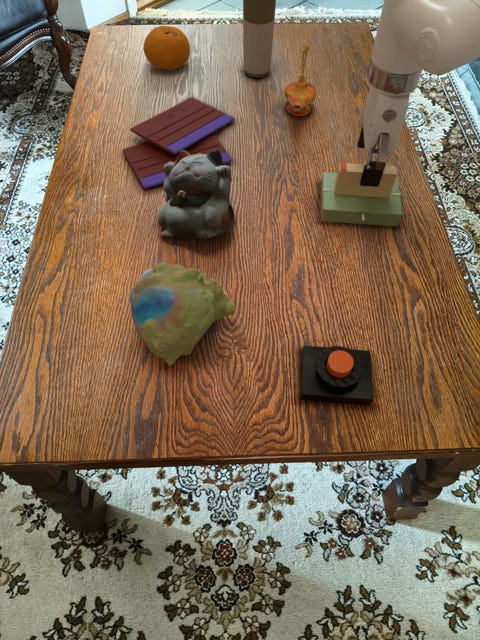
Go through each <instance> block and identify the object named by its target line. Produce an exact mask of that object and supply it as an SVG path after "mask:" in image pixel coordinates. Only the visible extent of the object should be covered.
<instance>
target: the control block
mask: <svg viewBox="0 0 480 640" xmlns="http://www.w3.org/2000/svg"><path fill="white" fill-rule="evenodd" d="M339 350H341V351H345V352H347V353H349V354H350V355H351V356H352V358H353V361H354V365H353V368H352V370H351V373H350V374H349V375H348V376H347V377H345V378H336V377H333V376H332V375H331V374H330V373H329V372H328V371H327V368H326V364H327V361H328V358H329V355H330V354H331V353H332V352H334V351H339ZM371 356H372V355H371V350H367V349H355V348H348V347H346V346H341V345H339V346H337V345H331V346H329V347H328V346H316V345H315V346H314V345H302V349H301V365H300V366H301V371H300V401H304V402H305V401H307V402H317V403H318V402H319V403H331V404H343V405H354V406H355V405H356V406H367V407H370V406H371V405H372V403H373V401H374V390H373V388H374V387H373V374H372V358H371Z"/></svg>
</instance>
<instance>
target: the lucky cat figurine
mask: <svg viewBox="0 0 480 640" xmlns="http://www.w3.org/2000/svg"><path fill="white" fill-rule="evenodd" d="M222 163H223V162H222V156H221V153H220V151H219V150H215V151H212V152H210V153H209V154H200V153H199V154H196V155H190V154H189V152H188V151H186V150H181V151H180V154H179V155H178V157H177V159H175V160H173V161H171V162H168V163H167V164H165V165H163V166H164V171H165V174H166V179H165V180H164V183H163V192H164V193H165V194H166V202H165V203H164V205H163V206H162V207H161V208H160V209H159V212H158V214H157V220H158V224H159V225H161V228H162V231H161V232H159V235H161V236H163V237H182V238H188V239H189V238H191V239H210V238H214V237H217V236H219V235H221V234H223V233H225V232H228V231H230V230H232V229H233V228H234V226H236V220H235V211H234V208H233V206H232V203H231V198H230V197H231V196H230V195H231V183H232V169H231V166H228V165H226V164H222Z"/></svg>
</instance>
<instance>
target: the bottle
mask: <svg viewBox="0 0 480 640" xmlns="http://www.w3.org/2000/svg"><path fill="white" fill-rule="evenodd" d="M276 6H277V0H242V54H243V55H242V57H243V58H242V59H243V61H242V63H243V65H242V66H243V71H244V73H245V74H246V75H247V76H249V77H252V78H256V79H257V78H264V77H265V76H267V75H269V73H270V70H271V67H272V57H273V56H272V55H273V42H274V30H275V20H276V19H275V18H276Z"/></svg>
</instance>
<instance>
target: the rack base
mask: <svg viewBox="0 0 480 640" xmlns="http://www.w3.org/2000/svg"><path fill="white" fill-rule="evenodd" d="M321 175H322V177H321V181H320V222H325V223H327V222H328V223H342V224H355V225H372V226H383V227H385V226H387V227H399V225H400V221H401V219H402V217H403V211H402V210H403V209H402V203H401V196H402V195H401V193H400V185H399V178H398V176H397V177H396V180H395V183H394V186H393V189H392V192H391V195H390V197H389V198H380V197H365V196H349V195H335V194H334V185H335V180H336V175H337V172H332V171H323V172H322V174H321Z"/></svg>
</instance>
